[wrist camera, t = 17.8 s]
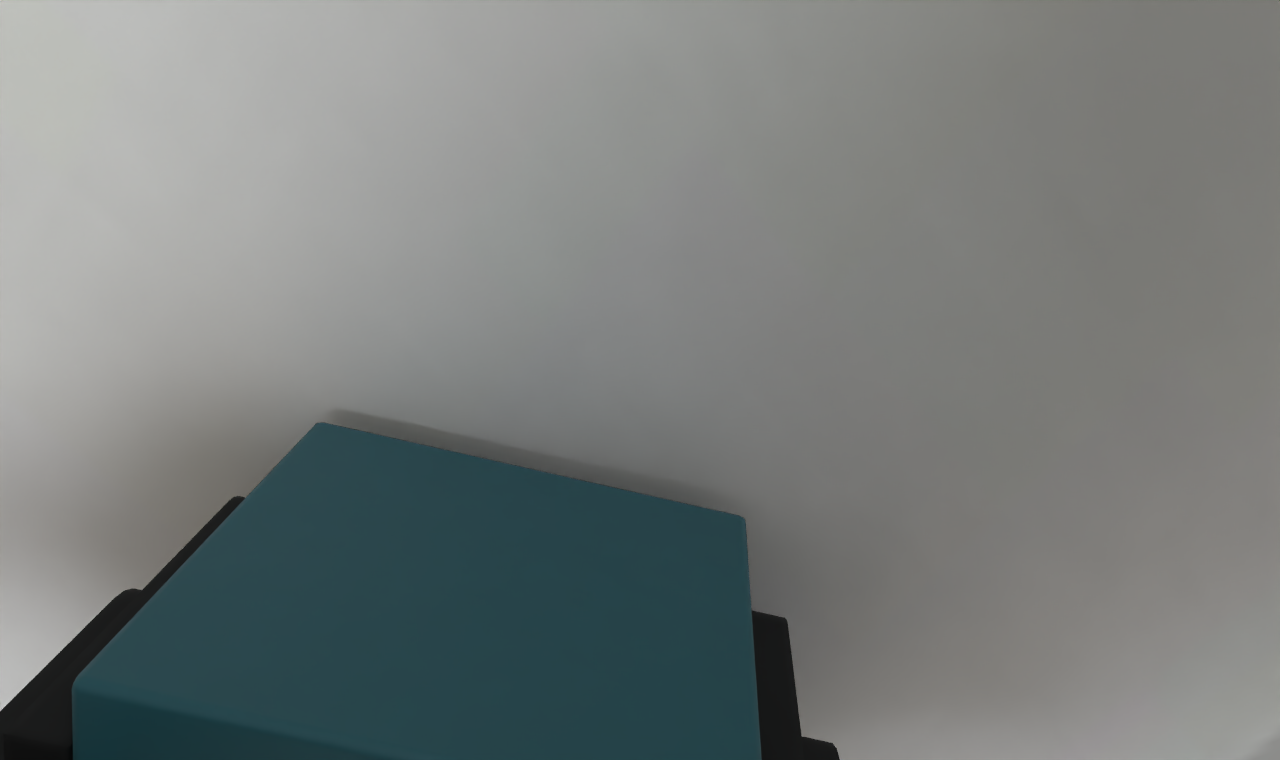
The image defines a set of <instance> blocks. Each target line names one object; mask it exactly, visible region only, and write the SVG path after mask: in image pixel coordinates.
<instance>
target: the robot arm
mask: <svg viewBox="0 0 1280 760" xmlns="http://www.w3.org/2000/svg"><path fill="white" fill-rule="evenodd" d="M244 499H245V497H240V496H236V497H233V498H232V499H231V500H229V501H228V502H227V503H226V505H225V506H224V507H223V508H222V509H221V510H220V511H219V512H218V513H217V514H216V515H215V516H214V517H213V518H212V519H211V520H210V521H209V522H208V523H207V524H206V525H205V526H204V527H203V528H202V529H201V530H200V531H199V532H198V533H197V534H196V535H195V536H194V537H193V538H192V539H191V540H190V542H189V543H188V544H187V545H186V546H185V547H184V548H183V549H182V550H181V551H180V552H179V553H178V554H177V555H176V556H175V557H174V558H173V559H172V560H171V561H170V562H169V563H168V564H167V565H166V566H165V567H164V568H163V569H162V570H161V571H160V572H159V573H158V574H157V575H156V576H155V577H154V578H153V580H152V581H151V582H150V583H149V584H148V585H147V586H146V587H145V588H144V589H143V590H138V589H129V590H125V591H123V592H122V593H121V594H119V595H118V596H117V597H115V598H114V599H113V600H112V601H111V602H110V603H109V604H108V605H107V606H106V607H105V608H104V609H103V610H102V611H101V612H100V613H99V614H98V615H97V616H96V617H95V618H94V619H93V620H92V621H91V622H90V623H89V624H88V625H87V626H86V627H85V628H84V629H83V630H82V631H81V632H80V633H79V634H78V635H77V636H76V637H75V638H74V639H73V640H72V641H71V642H70V643H69V644H68V645H67V646H66V647H65V648H64V649H63V650H62V651H61V652H60V653H59V654H58V655H57V656H56V657H55V658H54V659H53V660H52V661H51V662H50V663H49V664H48V665H47V666H46V667H45V668H44V669H43V670H42V671H41V672H40V673H39V674H38V675H36V676H35V677H34V678H33V679H32V680H31V681H30V682H29V683H28V684H27V685H26V686H25V687H24V688H23V689H22V690H21V691H20V692H19V693H18V694H17V695H16V696H15V697H14V698H13V699H12V700H11V701H10V702H9V703H8V704H7V705H6V706H5V707H4V708H3V709H2V710H1V711H0V760H73V734H72V687H73V683H74V681H75V679H76V677H77V676H78V675H79V674H80V673H81V672H82V670H83V669H84V668H85V667H86V666H87V665H88V664H89V663H90V662H91V661H92V660H93V659H94V658H95V657H96V656H97V655H98V654H99V652H100V651H101V650H102V649H103V648H104V647H105V646H106V645H107V644H108V643H109V642H110V641H111V640H112V639H113V638H114V637H115V636H116V635H117V633H118V632H119V631H120V630H121V629H122V628H123V627H124V626H125V625H126V624H127V623H128V622H129V621H130V620H131V619H132V618H133V617H134V615H135V614H136V613H137V612H138V611H139V610H140V609H141V608H142V607H143V606H144V605H145V604H146V603H147V602H148V601H149V600H150V599H151V598H152V596H153V595H154V594H155V593H156V592H157V591H158V590H159V589H160V588H161V587H162V586H163V585H164V584H165V583H166V582H167V581H168V580H169V578H170V577H171V576H172V575H173V574H174V573H175V572H176V571H177V570H178V569H179V568H180V567H181V566H182V565H183V564H184V563H185V562H186V560H187V559H188V558H189V557H190V556H191V555H192V554H193V553H194V552H195V551H196V550H197V549H198V548H199V547H200V546H201V545H202V544H203V543H204V541H205V540H206V539H207V538H208V537H209V536H210V535H211V534H212V533H213V532H214V531H215V530H216V529H217V528H218V527H219V526H220V525H221V523H222V522H223V521H224V520H225V519H226V518H227V517H228V516H229V515H230V514H231V513H232V512H233V511H234V510H235V509H236V508H237V507H238V506H239V504H240V503H241V502H242V501H243V500H244ZM752 625H753V640H754V655H755V669H756V684H757V699H758V714H759V729H760V744H761V759H762V760H840V759H839V755H838V752H837V748H836V747H835V746H834V744H833V743H829V742H825V741H820V740H816V739H811V738H807V737H802V736H801V729H800V721H799V713H798V704H797V696H796V688H795V680H794V672H793V664H792V655H791V647H790V639H789V631H788V624H787V620H786V619H785V618H783V617H779V616H774V615H770V614H765V613H761V612H756V611H752Z"/></svg>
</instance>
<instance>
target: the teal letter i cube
mask: <svg viewBox="0 0 1280 760" xmlns="http://www.w3.org/2000/svg"><path fill="white" fill-rule="evenodd" d="M72 734H73V760H762V759H761V744H760V729H759V714H758V699H757V684H756V669H755V655H754V640H753V625H752V610H751V595H750V580H749V565H748V550H747V535H746V523H745V519H744V518H743V517H741V516H739V515H734V514H730V513H725V512H721V511H716V510H712V509H707V508H703V507H699V506H694V505H690V504H685V503H681V502H676V501H672V500H667V499H663V498H658V497H654V496H649V495H645V494H640V493H636V492H632V491H627V490H623V489H618V488H614V487H609V486H605V485H600V484H596V483H591V482H587V481H582V480H578V479H574V478H569V477H565V476H560V475H556V474H551V473H547V472H542V471H538V470H533V469H529V468H524V467H520V466H516V465H511V464H507V463H502V462H498V461H493V460H489V459H484V458H480V457H475V456H471V455H466V454H462V453H458V452H453V451H449V450H444V449H440V448H435V447H431V446H426V445H422V444H417V443H413V442H408V441H404V440H399V439H395V438H391V437H386V436H382V435H377V434H373V433H368V432H364V431H359V430H355V429H350V428H346V427H341V426H337V425H333V424H328V423H316V424H315V425H314V426H313V427H312V428H311V429H310V430H309V431H308V433H307V434H306V435H305V436H304V437H303V438H302V439H301V440H300V441H299V442H298V443H297V444H296V445H295V446H294V447H293V448H292V449H291V451H290V452H289V453H288V454H287V455H286V456H285V457H284V458H283V459H282V460H281V461H280V462H279V463H278V464H277V465H276V466H275V467H274V468H273V470H272V471H271V472H270V473H269V474H268V475H267V476H266V477H265V478H264V479H263V480H262V481H261V482H260V483H259V484H258V485H257V486H256V488H255V489H254V490H253V491H252V492H251V493H250V494H249V495H248V496H247V497H246V498H245V499H244V500H243V501H242V502H241V503H240V504H239V506H238V507H237V508H236V509H235V510H234V511H233V512H232V513H231V514H230V515H229V516H228V517H227V518H226V519H225V520H224V521H223V522H222V523H221V525H220V526H219V527H218V528H217V529H216V530H215V531H214V532H213V533H212V534H211V535H210V536H209V537H208V538H207V539H206V540H205V541H204V543H203V544H202V545H201V546H200V547H199V548H198V549H197V550H196V551H195V552H194V553H193V554H192V555H191V556H190V557H189V558H188V559H187V560H186V562H185V563H184V564H183V565H182V566H181V567H180V568H179V569H178V570H177V571H176V572H175V573H174V574H173V575H172V576H171V577H170V578H169V580H168V581H167V582H166V583H165V584H164V585H163V586H162V587H161V588H160V589H159V590H158V591H157V592H156V593H155V594H154V595H153V596H152V598H151V599H150V600H149V601H148V602H147V603H146V604H145V605H144V606H143V607H142V608H141V609H140V610H139V611H138V612H137V613H136V614H135V615H134V617H133V618H132V619H131V620H130V621H129V622H128V623H127V624H126V625H125V626H124V627H123V628H122V629H121V630H120V631H119V632H118V633H117V635H116V636H115V637H114V638H113V639H112V640H111V641H110V642H109V643H108V644H107V645H106V646H105V647H104V648H103V649H102V650H101V651H100V652H99V654H98V655H97V656H96V657H95V658H94V659H93V660H92V661H91V662H90V663H89V664H88V665H87V666H86V667H85V668H84V669H83V670H82V672H81V673H80V674H79V675H78V676H77V677H76V679H75V681H74V683H73V687H72Z"/></svg>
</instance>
